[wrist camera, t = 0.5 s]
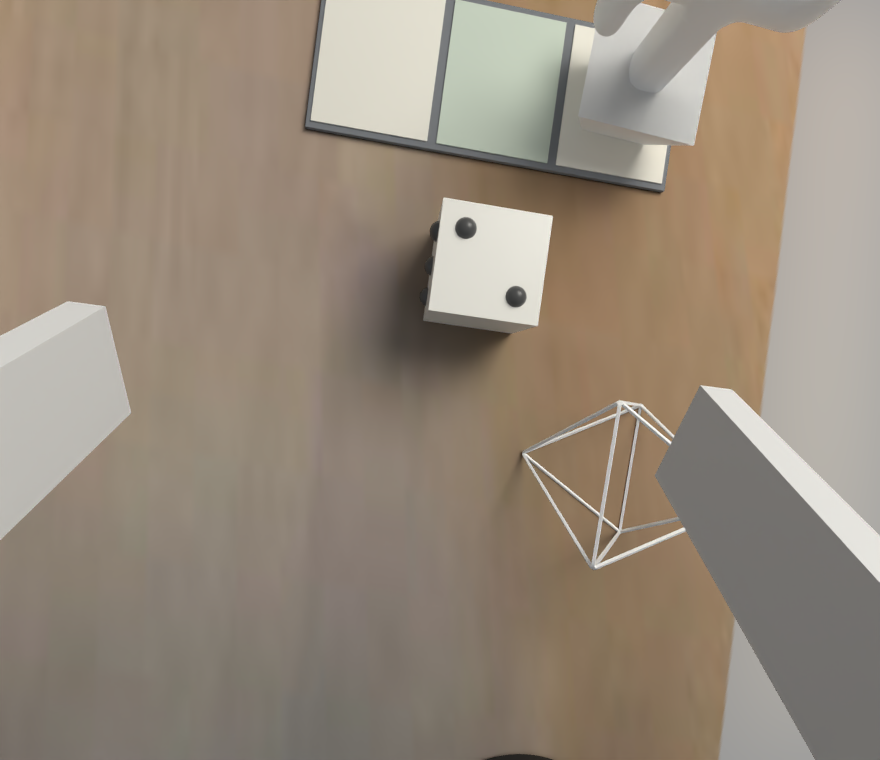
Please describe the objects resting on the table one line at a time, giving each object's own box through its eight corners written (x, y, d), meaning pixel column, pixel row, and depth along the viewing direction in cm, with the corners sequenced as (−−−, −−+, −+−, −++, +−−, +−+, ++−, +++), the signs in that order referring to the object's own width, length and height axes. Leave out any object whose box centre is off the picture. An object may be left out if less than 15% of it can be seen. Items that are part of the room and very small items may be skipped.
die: (511, 333, 31) (540, 325, 25) (416, 319, 31) (420, 307, 24) (524, 238, 31) (556, 204, 25) (429, 222, 30) (436, 184, 24)
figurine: (562, 32, 30) (720, -292, 15) (696, 68, 31) (969, -205, 16) (540, 142, 30) (677, -74, 15) (674, 175, 31) (926, 1, 16)
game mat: (661, 192, 32) (665, 190, 31) (306, 128, 29) (304, 125, 29) (683, 45, 31) (686, 41, 31) (326, -30, 29) (325, -35, 29)
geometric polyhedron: (509, 516, 31) (545, 565, 24) (532, 385, 31) (575, 392, 24) (652, 536, 32) (729, 589, 25) (675, 409, 32) (759, 423, 25)
